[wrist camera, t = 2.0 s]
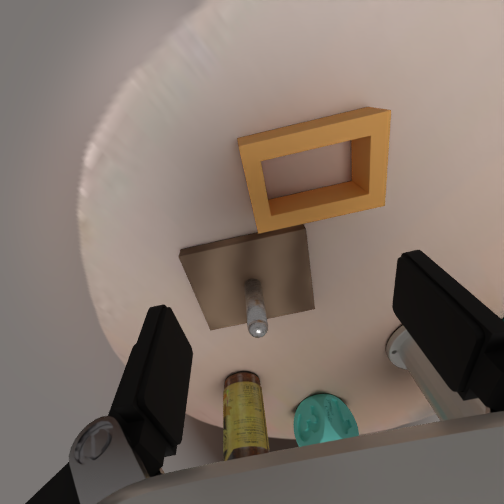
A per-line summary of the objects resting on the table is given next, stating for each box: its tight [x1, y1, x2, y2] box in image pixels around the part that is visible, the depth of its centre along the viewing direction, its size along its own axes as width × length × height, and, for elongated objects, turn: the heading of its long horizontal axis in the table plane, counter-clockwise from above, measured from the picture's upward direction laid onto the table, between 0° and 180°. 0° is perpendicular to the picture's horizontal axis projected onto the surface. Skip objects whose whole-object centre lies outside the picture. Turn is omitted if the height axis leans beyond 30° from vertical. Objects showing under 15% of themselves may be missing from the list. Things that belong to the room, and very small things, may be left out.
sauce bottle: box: [223, 372, 269, 461], centre depth 36 cm, size 6×6×20 cm
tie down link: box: [237, 107, 391, 234], centre depth 24 cm, size 12×8×4 cm, turn 102°
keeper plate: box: [179, 224, 315, 338], centre depth 29 cm, size 14×12×9 cm
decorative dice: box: [294, 394, 359, 447], centre depth 47 cm, size 8×8×8 cm
